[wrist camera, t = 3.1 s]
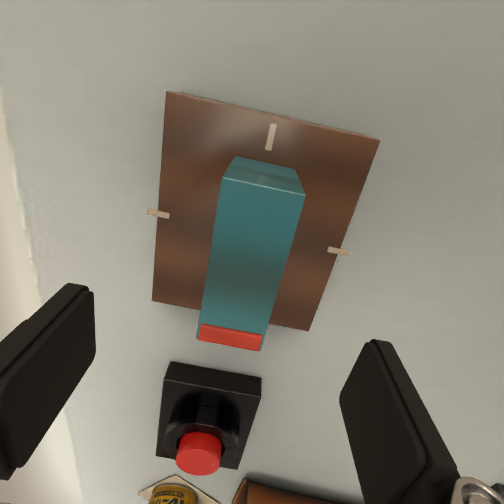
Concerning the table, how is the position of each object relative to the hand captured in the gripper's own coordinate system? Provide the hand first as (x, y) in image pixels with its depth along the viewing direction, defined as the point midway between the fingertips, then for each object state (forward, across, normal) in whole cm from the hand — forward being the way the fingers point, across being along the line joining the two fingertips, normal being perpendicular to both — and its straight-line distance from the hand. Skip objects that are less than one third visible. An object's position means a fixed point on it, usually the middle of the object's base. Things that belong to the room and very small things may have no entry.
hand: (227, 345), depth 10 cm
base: (+13, 0, 0) cm, 13 cm away
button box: (+13, 0, +22) cm, 26 cm away
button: (+9, 0, +22) cm, 24 cm away
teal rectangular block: (+10, 0, 0) cm, 10 cm away
